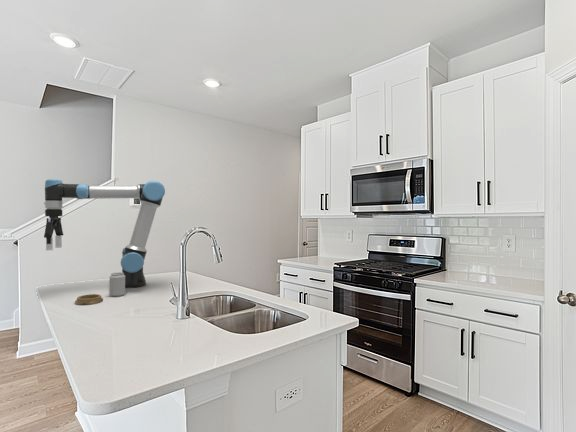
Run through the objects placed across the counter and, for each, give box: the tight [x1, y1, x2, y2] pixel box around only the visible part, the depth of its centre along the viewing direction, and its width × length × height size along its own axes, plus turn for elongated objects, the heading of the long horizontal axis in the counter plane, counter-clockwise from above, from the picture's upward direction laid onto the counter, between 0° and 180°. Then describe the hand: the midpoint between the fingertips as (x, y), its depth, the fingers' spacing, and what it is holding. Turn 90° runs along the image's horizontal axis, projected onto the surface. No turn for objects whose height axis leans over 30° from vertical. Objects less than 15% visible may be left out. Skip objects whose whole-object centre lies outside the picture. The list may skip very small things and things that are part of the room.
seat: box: [74, 293, 104, 306], centre depth 166 cm, size 12×12×3 cm
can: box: [108, 271, 126, 298], centre depth 180 cm, size 8×8×12 cm
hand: (54, 248), depth 178 cm, fingers open, 13 cm apart
